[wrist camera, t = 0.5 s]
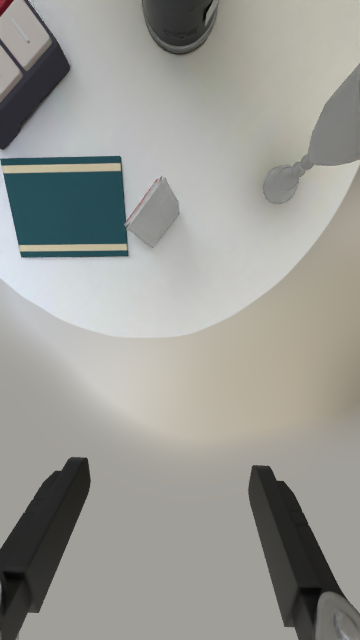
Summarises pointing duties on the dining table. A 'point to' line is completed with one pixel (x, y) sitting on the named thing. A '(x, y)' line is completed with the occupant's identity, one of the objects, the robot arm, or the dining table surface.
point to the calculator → (25, 64)
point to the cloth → (67, 206)
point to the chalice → (324, 141)
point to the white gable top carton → (154, 213)
